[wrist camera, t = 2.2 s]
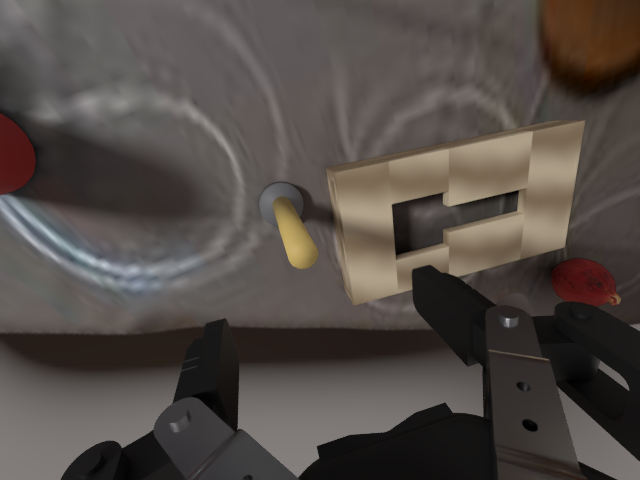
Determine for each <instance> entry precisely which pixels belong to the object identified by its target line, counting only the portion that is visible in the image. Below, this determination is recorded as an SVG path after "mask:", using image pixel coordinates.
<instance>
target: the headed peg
mask: <svg viewBox="0 0 640 480" xmlns="http://www.w3.org/2000/svg"><path fill="white" fill-rule="evenodd" d="M259 207H260V212H261V214H262V216H263V218H264V219H265V220H266V221H267V222H268V223H270V224H272V225H274V226H279V230H280V233H281V236H282V239H283V242H284V246H285V249H286V252H287V255H288V258H289V261H290V263H291V264H292V265H293V266H294V267H296V268H300V269H305V268H308V267H310V266H312V265H313V264H314V263H315V262H316V260H317V258H318V250H317V248H316V246H315V244H314V242H313V240H312V239H311V237H310V235H309V233H308V232H307V230H306V228H305V226H304V225H303V223H302V221H301V219H300V216H301V214H302V212H303V208H304V202H303V198H302V196H301V194H300V192H299V191H298V190H297V189H296V188H295V187H294V186H293V185H291V184H289V183H286V182H275V183H272V184H270V185H268V186H267V187H266V188H265V189H264V190H263V191H262V193H261V195H260V199H259Z"/></svg>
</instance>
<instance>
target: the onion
mask: <svg viewBox="0 0 640 480" xmlns="http://www.w3.org/2000/svg"><path fill="white" fill-rule="evenodd" d="M551 282H552V286H553V289H554V291H555V292H556V294H557V295H558V296H559V297H561V298H562V299H563V300H565V301H566V302H568V301H574V302H582V303H586V304H590V305H593V306H599V305H602V304H605V303H607V302H608V303H610V304H611V305H617V304H620V301H621V298H620V297H619V295H618V294H617V293H616V284H615V280H614V278H613V276H612V275H611V273H610V272H609V271H608V270H607V269H605V268H604V267H603V266H602V265H601V264H599V263H597V262H595V261H591V260H586V259H581V258H578V259H570V260H566V261H564V262H561V263H560V264H559V265H557V266H556V267H554V268H553V270H552V275H551Z"/></svg>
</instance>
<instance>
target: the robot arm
mask: <svg viewBox="0 0 640 480" xmlns="http://www.w3.org/2000/svg"><path fill="white" fill-rule="evenodd" d="M412 290H413V302H414V305H415V308H416V310H417V312H418V313H419V314H420V315H421V316H422V317H423V319H424V320H425V321H426V322H427V323H428V324H429V325H430V326H431V327H432V328H433V329H434V331H435V332H436V333H437V334H438V335H439V336H440V337H441V338H442V339H443V340H444V341H445V343H446V344H447V345H448V346H449V347H450V348H451V349H452V350H453V351H454V352H455V353H456V355H457V356H458V357H459V358H460V359H461V360H462V361H463V362H464V363H465V364H466V365H467V366H471V365H474V364H477V363H480V364H481V365H482V366H483V368H482V383H483V417H480V416H477V415H472V414H466V413H452V411H451V410H450V408H449V407H448V406H447V404H446V403H443V404H440V405H437V406H434V407H431V408H428V409H425V410H422V411H419V412H416V413H414V414H413V415H411V416H410V417H408V418H407V419H406V420H404V421H403V422H401V423H400V424H398V425H397V426H395V427H394V428H393V429H391V430H390V431H388V432H384V433H371V434H359V435H358V434H357V435H349V436H346V437H343V438H340V439H337V440H334V441H331V442H328V443H325V444H322V445H319V446H317V449H318V454H319V459H318V460H316V461H315V462H313V463H312V464H311V465H310V466H309V467H308V468H307V469H306V470H305V471H304V472H303V473H302V474H301V475H300V476H299V478H297V477H296V476H295V475H294V474H293V473H292V472H291V471H289V470H288V469H287V468H286V467H285V466H284V465H283V464H281V463H280V462H279V461H278V460H277V459H276V458H275V457H273V456H272V455H271V454H270V453H269V452H268V451H267V450H266V449H264V448H263V447H262V446H261V445H260V444H259V443H258V442H257V441H255V440H254V439H253V438H252V437H251V436H250V435H249V434H248V433H246V432H245V431H244V430H242V429H238V430H237V427H238V426H237V425H238V391H239V356H238V352H237V348H236V345H235V342H234V339H233V336H232V333H231V330H230V327H229V324H228V322H227V320H226V319H225V318H224V319H221V320H217V321H213V322H209V323H206V325H205V330H204V335H203V338H199V339H195V340H194V341H193V342H192V344H191V345H190V347H189V348H188V349H187V351H186V355H185V359H184V363H183V366H182V372H181V374H180V377H179V382H178V385H177V389H176V393H175V396H174V400H173V404H172V405H170V406H169V407H168V408H166V409H165V410H164V411H163V412H162V413H161V415H160V416H159V417H158V419H157V420H156V423H155V425H154V430H152V431H151V432H150V433H148V434H147V435H145V436H143V437H141V438H140V439H138V440H136V441H134V442H133V443H131V444H129V445H127V446H126V447H124V448H121V446H120V445H119V443H117V442H115V441H105V442H101V443H99V444H96V445H95V446H93V447H91V448H89V449H88V450H86V451H85V452H84V453H82V454H81V455H80V456H79V457H78V458H76V460H74V461H73V463H71V465H70V466H69V467H68V468H67V470H66V471H65V473H64V474H63V476H62V478H61V480H617V479H614V478H612V477H610V476H608V475H606V474H604V473H602V472H600V471H598V470H595V469H593V468H591V467H589V466H587V465H585V464H583V463H581V462H579V461H578V460H577V457H576V453H575V449H574V446H573V442H572V438H571V435H570V432H569V428H568V424H567V421H566V417H565V413H564V410H563V406H562V402H561V399H560V395H559V392H558V388H560V389H561V390H562V391H563V392H564V393H565V394H566V395H567V396H568V397H569V398H571V399H572V400H573V401H574V402H575V403H576V404H577V405H578V406H579V407H580V408H582V409H583V410H584V411H585V412H586V413H587V414H588V415H589V416H591V418H592V419H594V420H595V421H596V422H597V423H598V424H599V425H600V426H601V427H602V428H603V429H605V430H606V431H607V432H608V433H609V434H610V435H611V436H612V437H613V438H615V439H616V440H617V441H618V442H619V443H620V444H621V445H622V446H623V447H624V448H626V449H627V450H628V451H629V452H630V453H631V454H632V455H633V456H634V457H635V458H636V459H637V460H639V461H640V331H638V330H637V329H635V328H633V327H631V326H629V325H628V324H626V323H624V322H622V321H621V320H619V319H617V318H615V317H614V316H612V315H610V314H608V313H606V312H605V311H603V310H601V309H599V308H597V307H595V306H593V305H590V304H586V303H582V302H574V301H568V302H562V303H559V304H557V305H556V307H555V311H554V316H535V317H531V316H530V315H529V314H528V313H526V312H525V311H523V310H521V309H519V308H516V307H512V306H506V305H499V306H497V305H495V304H494V303H493V302H491V301H490V300H488V299H487V298H486V297H484V296H483V295H481V294H480V293H479V292H477V291H476V290H475V289H472V287H470V286H469V285H468V284H465V282H463V281H462V280H461V279H459V278H458V277H456V276H454V275H451V274H448V273H445V272H444V273H441V272H440V271H439V270H437V269H436V268H435V267H433V266H432V265H426V266H422V267H418V268H415V269H413V270H412ZM600 360H601V361H602V362H604V363H605V364H606V365H608V366H609V367H611V368H612V369H613V370H615V371H616V372H618V373H619V374H620V375H621V376H622V377H623V378H624V379H625V380H626V382H627V384H628V386H629V391H628V390H627V389H625V388H624V387H623V386H622V385H620V384H619V383H617V382H616V381H615V380H614V379H612V378H611V377H609V376H608V375H607V374H605V373H604V372H603V371H601V370H600V369H599V368H598V367H599V363H600ZM557 387H558V388H557Z"/></svg>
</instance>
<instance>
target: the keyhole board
mask: <svg viewBox="0 0 640 480" xmlns="http://www.w3.org/2000/svg"><path fill="white" fill-rule="evenodd" d="M584 124H585V120H578V121H550V122H545V123H540V124H535V125H531V126H526V127H521V128H516V129H511V130H506V131H501V132H497V133H492V134H487V135H482V136H477V137H472V138H467V139H463V140H458V141H453V142H448V143H443V144H438V145H433V146H429V147H424V148H419V149H414V150H409V151H404V152H399V153H395V154H390V155H385V156H380V157H375V158H370V159H366V160H361V161H356V162H351V163H346V164H341V165H336V166H332V167H327V168H326V172H327V178H328V185H329V191H330V198H331V204H332V211H333V217H334V224H335V230H336V237H337V243H338V250H339V256H340V263H341V269H342V276H343V282H344V289H345V291H346V293H347V294H348V296H349V298H350V299H351V301H352V303H353V304H354V305H358V304H362V303H365V302H369V301H372V300H376V299H380V298H383V297H387V296H390V295H394V294H398V293H401V292H405V291H408V290H412V270H413V269H415V268H418V267H422V266H426V265H432V266H433V267H435V268H436V269H437V270H439V271H440V272H441V273H444V272H445V273H448V274H451V275H454V276H456V277H459V276H463V275H466V274H470V273H473V272H477V271H481V270H484V269H488V268H492V267H495V266H499V265H502V264H506V263H510V262H513V261H517V260H520V259H524V258H528V257H531V256H535V255H538V254H542V253H546V252H549V251H553V250H557V249H560V248H564V247H565V242H566V236H567V229H568V223H569V217H570V211H571V205H572V198H573V192H574V186H575V180H576V174H577V167H578V161H579V155H580V149H581V143H582V136H583V130H584ZM516 190H519V196H518V207H517V211H515V212H511V213H507V214H503V215H499V216H495V217H491V218H487V219H483V220H479V221H475V222H471V223H467V224H463V225H459V226H455V227H451V228H447V229H443V243H442V244H438V245H434V246H430V247H426V248H422V249H419V250H415V251H411V252H407V253H403V254H399V255H395V242H394V229H393V216H392V204H395V203H399V202H403V201H408V200H412V199H416V198H421V197H425V196H429V195H434V194H438V193H442V192H443V204H444V205H446V206H454V205H458V204H462V203H466V202H470V201H474V200H479V199H483V198H487V197H491V196H495V195H500V194H504V193H508V192H512V191H516Z"/></svg>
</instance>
